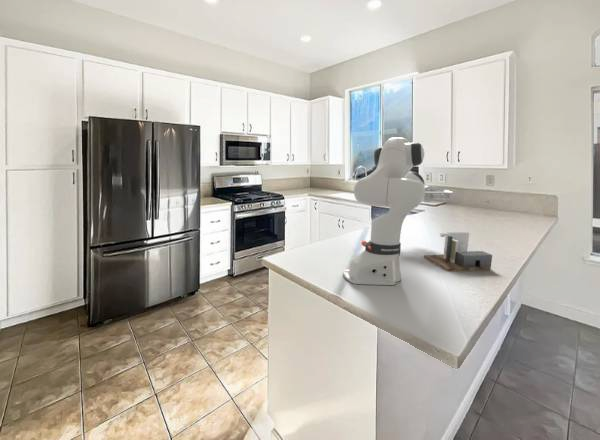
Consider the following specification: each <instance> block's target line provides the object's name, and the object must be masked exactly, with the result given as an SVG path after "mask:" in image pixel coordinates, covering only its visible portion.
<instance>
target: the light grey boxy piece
mask: <svg viewBox="0 0 600 440" xmlns="http://www.w3.org/2000/svg"><path fill="white" fill-rule="evenodd" d="M439 236H440V237H441V238H445V237H448V236H453V238H452V239H454V240H457V241H459V245H458V252H466V251H468V248H469V247H468V246H469V238H470V233H469V232H468V231H455V232H452V231H449V232H445V233H444V232H443V233H442V232H441V233H440V234H439Z"/></svg>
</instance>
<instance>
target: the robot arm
mask: <svg viewBox="0 0 600 440" xmlns="http://www.w3.org/2000/svg"><path fill="white" fill-rule="evenodd" d="M424 159H425V151H424V147H423V145H422V144H421V143H419V142H410V141H409V139H408V138H404V137H390V138H389V139H387V140H386V141H385V142H384V143H383V145H382V146H379V147H378V148H376V149H375V150H374V153H373V163H374V165H375V167H376V168H375V170H373V171H372V172H371V173H370V174H368V175H367V176H365V177H362V178H360V179H358V181H356V183H355V185H354V187H353V188H354V189H353V196H354V198H355V200H356V201H357V202H358V204H363V205H366V206H371V207H384V208H385V207H387V208H388V209H389V210H388V212H387V213H384V214H381V215H379V216H377V217H375V218H374V219H373V220H372V222H371V224H370V225H371V226H370V240H368V241H367V240H362V241H361V245H362V246H363V247H365V249H364V250H363V251H362V252H361V253H359V254H357V255H356V256H355V257H353V258H352V259H351V260H350V263H349V268H348V269H344V270H343V276H344V279H346V280H347V281H348V282H350V283H352V284H354V285H372V286H373V285H374V286H377V285H378V286H394V285H396V284H397V283H398V282H400V281H401V280H402V275H401V270H400V256H401V245H402V243H401V233H402V228H403V224H404V221H405V219H406V217H407V216H408V214H409V213H410V212H412V211H413V210H414V209H416V208H417V207H419V206H420V205H421V204H422V203H423V202H424V203H431V202H435V201H437V202H438V201H443V200H453V199H454V198H455V192H454V191H452V190H448V189H444V187H442V188H441V187H435V186H432V185H426V184H425V183H426V182H425V180H424V178H423V177H422V175H421V174H419V172H416V171H411V170H412V169H413V167H417V166H420V165H421V164H422V163H423V162H424Z"/></svg>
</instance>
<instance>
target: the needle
mask: <svg viewBox="0 0 600 440" xmlns="http://www.w3.org/2000/svg"><path fill="white" fill-rule="evenodd" d="M452 238H453V236H448V241H447V251H446V260H445V261H447V262H450V256H451V247H452Z"/></svg>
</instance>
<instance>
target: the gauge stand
mask: <svg viewBox="0 0 600 440" xmlns="http://www.w3.org/2000/svg"><path fill="white" fill-rule="evenodd" d="M444 238H445V239H444V240H445V241H444V248H443V254H424V255H423V258H424V259H425V260H427V261H429V262H431V263H432V264H435V265H436V266H438V267H439V268H441V269H443V270H445V271H447V272H456V271H457V272H458V271H459V272H460V271H463V272H464V271H487V270H488V271H489V270H491V267H492V261H493V254H491V253H488V252H486V251H484V250H476V251H475V250H471V251H469V250H467V251H466V252H458V245H459V241H457V240H454V239H452V247H451V256H450V262H447V261H445V260H446V251H447V241H448V237H444Z"/></svg>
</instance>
